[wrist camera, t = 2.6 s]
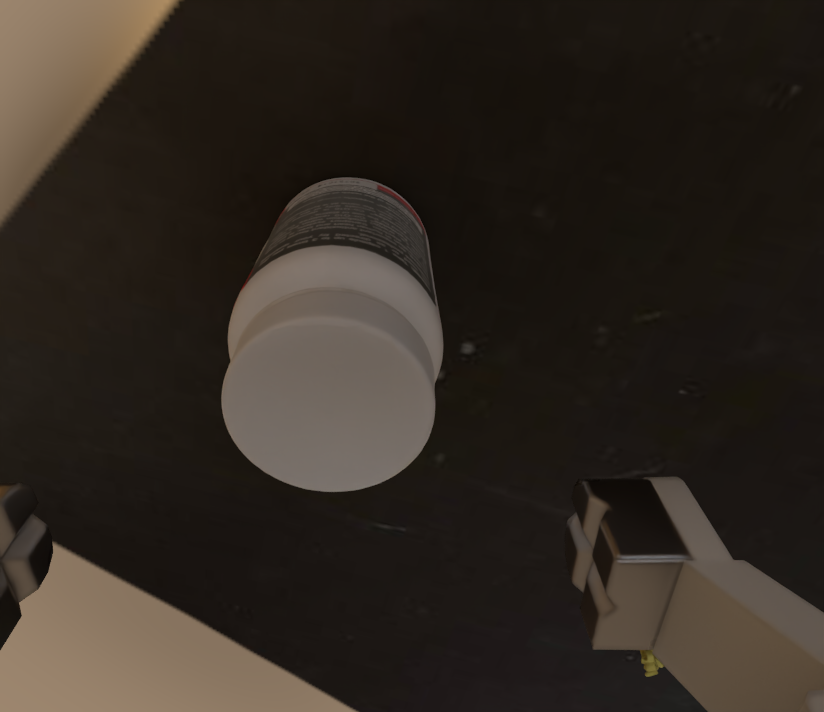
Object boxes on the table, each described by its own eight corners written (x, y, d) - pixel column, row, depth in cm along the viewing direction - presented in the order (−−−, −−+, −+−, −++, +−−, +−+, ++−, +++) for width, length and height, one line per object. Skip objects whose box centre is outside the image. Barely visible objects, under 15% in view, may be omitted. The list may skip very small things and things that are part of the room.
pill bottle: (249, 197, 17) (147, 334, 10) (407, 155, 17) (416, 265, 10) (304, 336, 20) (253, 526, 13) (444, 302, 19) (475, 480, 12)
